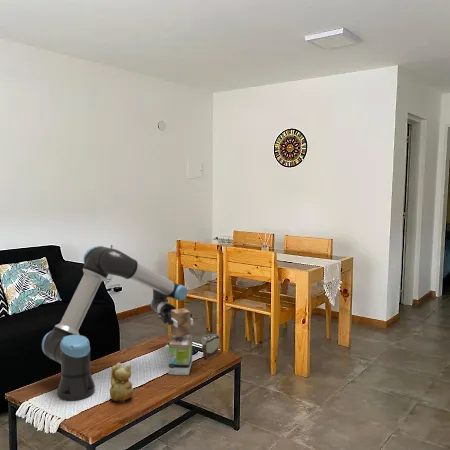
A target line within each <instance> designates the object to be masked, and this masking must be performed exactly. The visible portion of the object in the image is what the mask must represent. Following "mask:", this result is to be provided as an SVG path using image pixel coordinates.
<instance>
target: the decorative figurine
mask: <svg viewBox="0 0 450 450" xmlns="http://www.w3.org/2000/svg"><path fill="white" fill-rule="evenodd" d="M131 368H132V365H131V364H130V363H127V364H126V365H125V366H123V365H122V364H121V363H120V362H117V363H116V364H115V365H114V364H113V366H111V374H110V385H111V387H110V389H109V395H110V399H111V401H113V402H119V403H120V402H121V403H124V402H125V401H126V400H129V399H130V398H131V397H132V396H133V392H134V388H133V382H132V381H130V378H131V377H132V372H131V371H132V370H131Z"/></svg>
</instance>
